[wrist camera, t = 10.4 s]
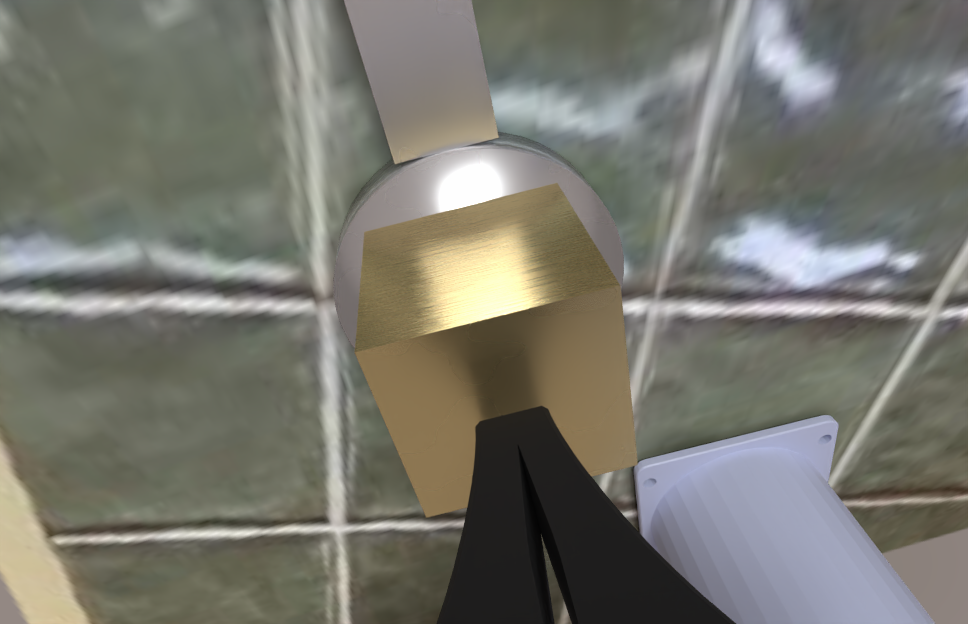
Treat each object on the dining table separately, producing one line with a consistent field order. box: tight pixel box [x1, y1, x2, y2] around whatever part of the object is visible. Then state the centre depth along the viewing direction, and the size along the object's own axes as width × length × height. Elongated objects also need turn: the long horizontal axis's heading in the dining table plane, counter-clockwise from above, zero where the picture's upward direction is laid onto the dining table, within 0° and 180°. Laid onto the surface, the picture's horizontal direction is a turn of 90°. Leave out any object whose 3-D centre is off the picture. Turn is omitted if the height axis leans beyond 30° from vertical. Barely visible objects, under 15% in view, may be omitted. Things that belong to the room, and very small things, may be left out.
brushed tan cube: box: [355, 183, 638, 518], centre depth 14 cm, size 5×5×5 cm
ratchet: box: [334, 0, 624, 348], centre depth 12 cm, size 22×8×4 cm, turn 12°
